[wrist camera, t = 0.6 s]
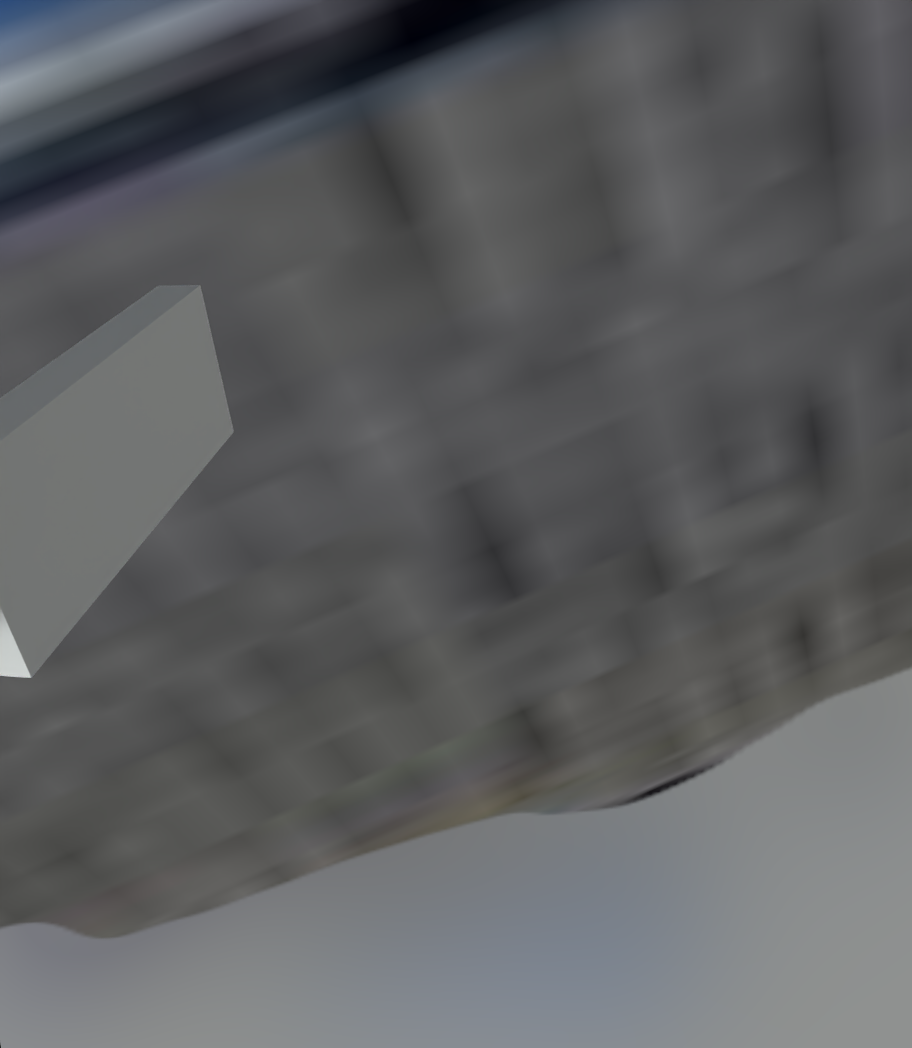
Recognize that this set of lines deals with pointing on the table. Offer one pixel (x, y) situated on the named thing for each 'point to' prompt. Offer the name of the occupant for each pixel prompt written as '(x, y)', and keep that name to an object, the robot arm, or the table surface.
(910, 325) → the table surface
